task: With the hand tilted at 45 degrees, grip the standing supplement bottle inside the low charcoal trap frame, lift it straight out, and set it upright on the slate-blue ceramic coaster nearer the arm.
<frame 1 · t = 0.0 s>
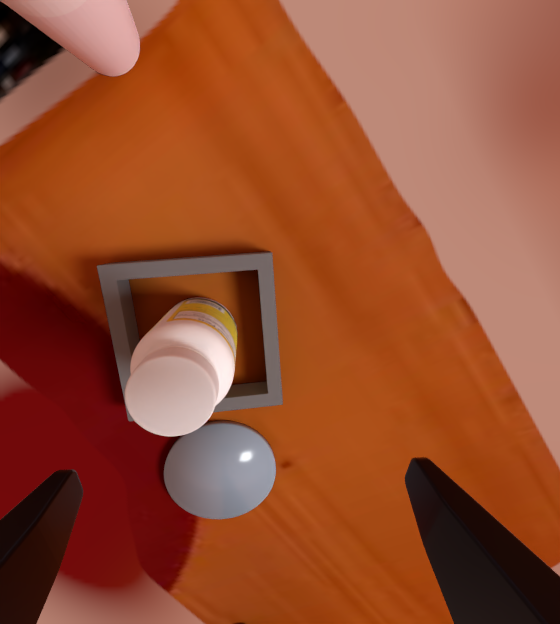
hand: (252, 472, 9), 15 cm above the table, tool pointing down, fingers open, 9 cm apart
smoothie: (109, 42, 19), on the table
coaster: (221, 468, 26), on the table
trap frame: (201, 332, 23), on the table
supplement bottle: (202, 331, 24), resting in trap frame
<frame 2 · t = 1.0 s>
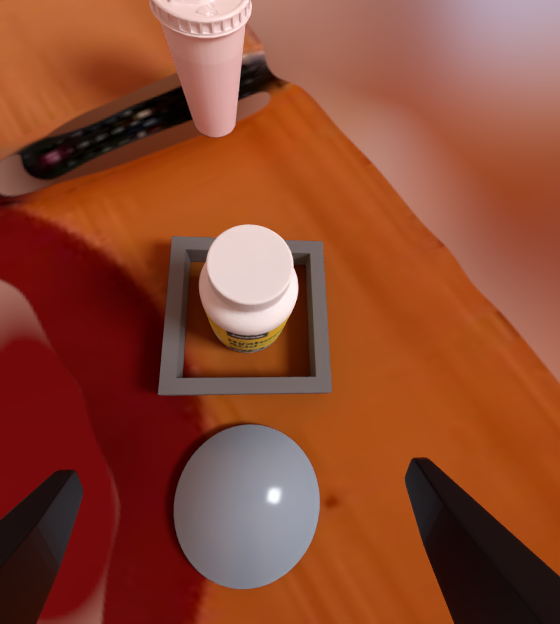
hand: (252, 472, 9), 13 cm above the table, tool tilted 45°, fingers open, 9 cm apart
smoothie: (215, 122, 29), on the table
coaster: (248, 498, 20), on the table
trap frame: (248, 318, 23), on the table
supplement bottle: (248, 319, 24), resting in trap frame
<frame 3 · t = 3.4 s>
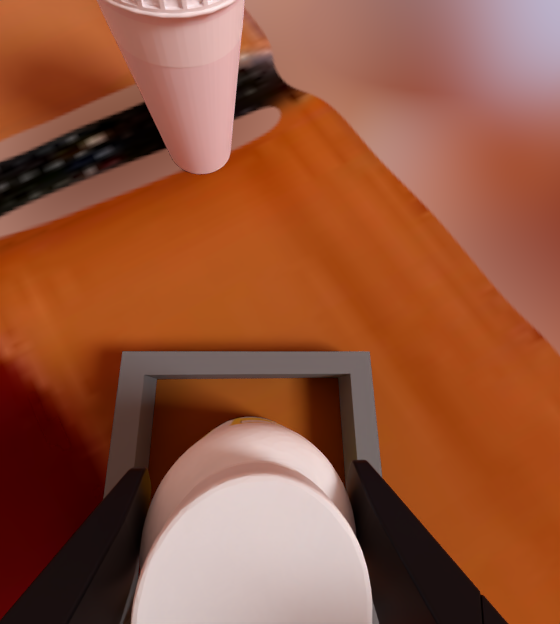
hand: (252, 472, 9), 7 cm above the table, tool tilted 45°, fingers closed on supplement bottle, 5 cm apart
smoothie: (200, 151, 20), on the table
trap frame: (249, 478, 14), on the table
supplement bottle: (249, 477, 15), resting in trap frame, touching gripper
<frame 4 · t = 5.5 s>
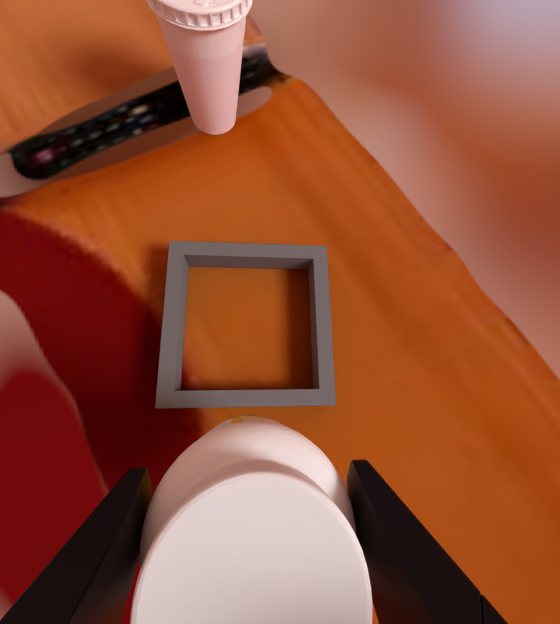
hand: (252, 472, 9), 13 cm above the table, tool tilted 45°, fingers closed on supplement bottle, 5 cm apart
smoothie: (214, 119, 27), on the table
trap frame: (248, 326, 23), on the table
supplement bottle: (248, 476, 15), point 6 cm above the table, touching gripper
when the fingers open (8 cm above the table, at t = 7.6 s): supplement bottle stays where it is, resting on coaster.
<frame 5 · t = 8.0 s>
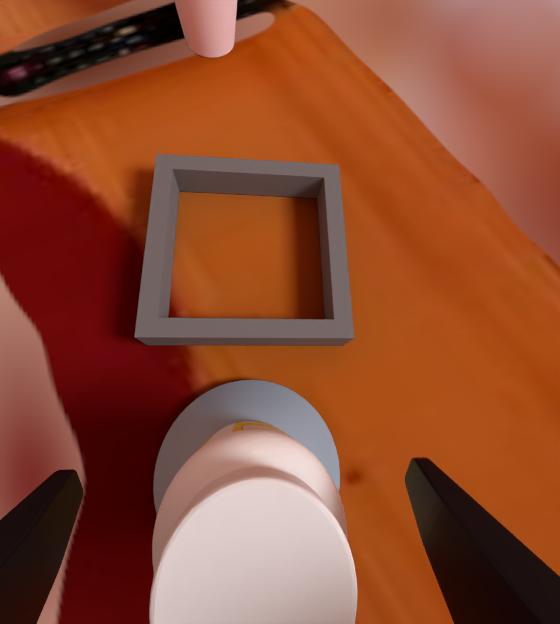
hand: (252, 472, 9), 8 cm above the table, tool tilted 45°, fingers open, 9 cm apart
smoothie: (210, 43, 25), on the table
coaster: (249, 471, 16), on the table
trap frame: (249, 256, 19), on the table
supplement bottle: (249, 477, 15), resting on coaster
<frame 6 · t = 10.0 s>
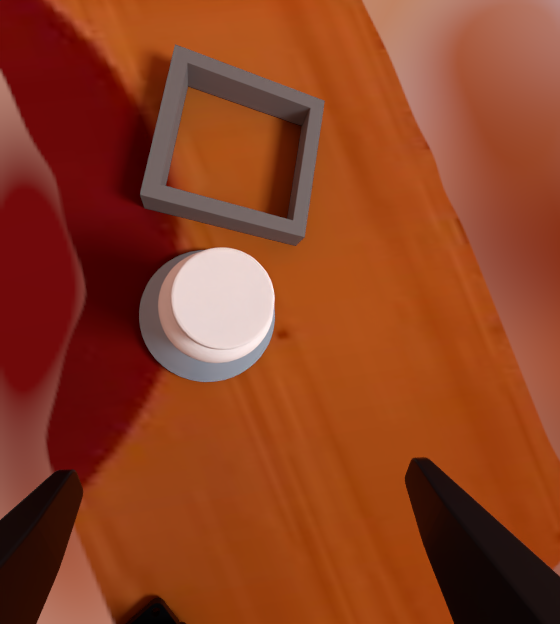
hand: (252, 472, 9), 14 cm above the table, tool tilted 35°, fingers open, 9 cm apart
coaster: (210, 315, 22), on the table
trap frame: (237, 159, 24), on the table
supplement bottle: (210, 317, 22), resting on coaster
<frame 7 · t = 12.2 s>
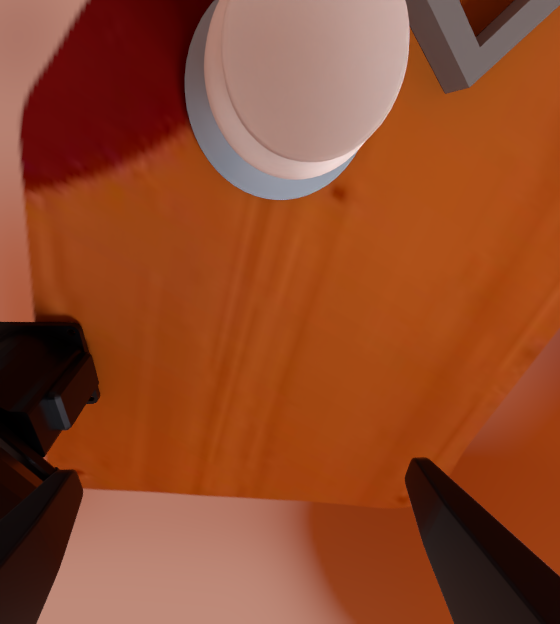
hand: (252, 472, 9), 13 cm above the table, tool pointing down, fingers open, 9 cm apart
coaster: (280, 102, 16), on the table
supplement bottle: (278, 104, 15), resting on coaster
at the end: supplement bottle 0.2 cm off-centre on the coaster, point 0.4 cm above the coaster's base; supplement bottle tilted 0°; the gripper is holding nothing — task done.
